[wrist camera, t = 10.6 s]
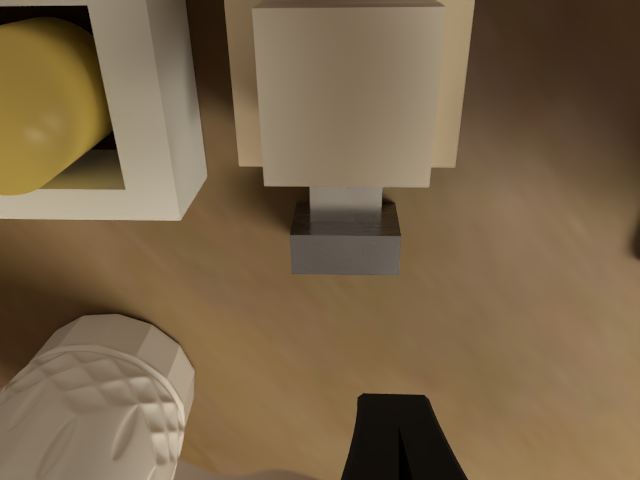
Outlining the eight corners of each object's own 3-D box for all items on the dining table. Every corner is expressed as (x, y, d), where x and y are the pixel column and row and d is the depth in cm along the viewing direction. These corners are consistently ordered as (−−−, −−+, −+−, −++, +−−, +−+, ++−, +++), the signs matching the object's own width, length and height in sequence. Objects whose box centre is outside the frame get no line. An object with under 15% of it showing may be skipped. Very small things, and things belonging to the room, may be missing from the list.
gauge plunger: (110, 16, 16) (40, 36, 12) (134, 146, 18) (81, 196, 14) (-22, 17, 16) (-127, 37, 12) (17, 146, 18) (-64, 194, 14)
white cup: (229, 334, 23) (154, 577, 14) (187, 449, 26) (107, 699, 18) (44, 275, 22) (-163, 499, 13) (27, 404, 25) (-142, 646, 17)
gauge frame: (180, -44, 16) (139, -41, 13) (207, 176, 19) (180, 220, 16) (-80, -40, 16) (-180, -37, 13) (-8, 175, 19) (-74, 218, 16)
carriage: (463, -67, 15) (542, -77, 9) (442, 140, 18) (490, 240, 12) (236, -64, 15) (162, -70, 9) (252, 139, 18) (204, 236, 12)
